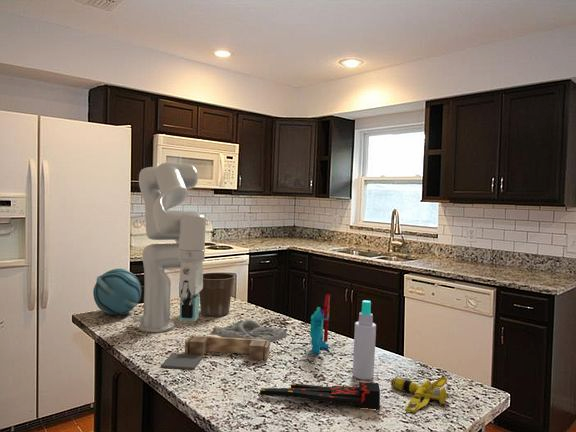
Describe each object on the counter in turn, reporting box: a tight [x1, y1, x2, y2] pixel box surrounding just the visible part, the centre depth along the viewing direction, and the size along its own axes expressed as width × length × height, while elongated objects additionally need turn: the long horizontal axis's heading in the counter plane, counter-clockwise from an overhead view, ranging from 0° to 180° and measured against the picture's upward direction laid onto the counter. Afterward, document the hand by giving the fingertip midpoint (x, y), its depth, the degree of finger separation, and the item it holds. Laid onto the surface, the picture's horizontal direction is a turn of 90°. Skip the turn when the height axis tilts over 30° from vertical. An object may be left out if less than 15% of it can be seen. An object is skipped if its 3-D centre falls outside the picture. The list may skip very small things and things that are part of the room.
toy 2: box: [309, 293, 331, 355], centre depth 148 cm, size 18×6×15 cm
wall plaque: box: [212, 319, 288, 343], centre depth 164 cm, size 24×19×4 cm
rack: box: [184, 334, 271, 362], centre depth 142 cm, size 26×7×4 cm, turn 86°
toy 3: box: [259, 381, 381, 411], centre depth 114 cm, size 8×5×30 cm
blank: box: [179, 293, 200, 322], centre depth 134 cm, size 4×4×7 cm
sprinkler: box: [390, 376, 448, 414], centre depth 118 cm, size 19×4×15 cm
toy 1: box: [92, 268, 142, 316], centre depth 182 cm, size 18×20×20 cm
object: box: [198, 272, 236, 317], centre depth 190 cm, size 16×16×16 cm
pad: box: [160, 352, 204, 371], centre depth 135 cm, size 10×10×1 cm
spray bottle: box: [352, 299, 377, 381], centre depth 129 cm, size 6×6×22 cm
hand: (189, 314), depth 134 cm, fingers closed on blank, 4 cm apart
